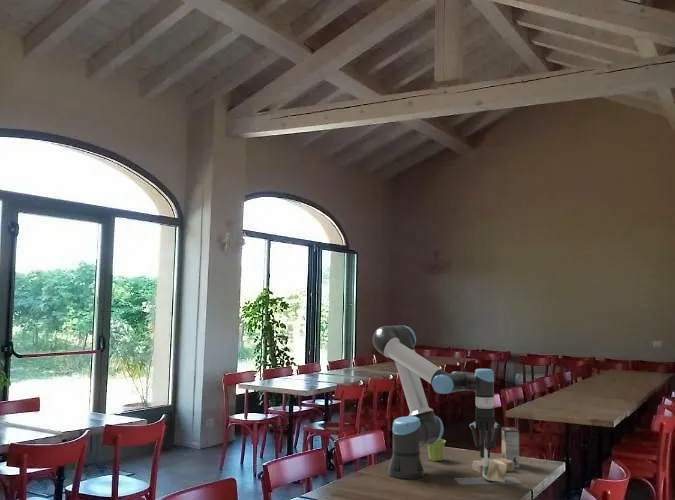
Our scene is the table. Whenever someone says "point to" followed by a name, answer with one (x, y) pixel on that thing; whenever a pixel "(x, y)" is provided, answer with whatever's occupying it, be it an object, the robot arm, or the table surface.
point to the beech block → (495, 471)
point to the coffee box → (510, 444)
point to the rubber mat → (485, 481)
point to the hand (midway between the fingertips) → (485, 465)
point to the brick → (478, 464)
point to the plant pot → (436, 450)
